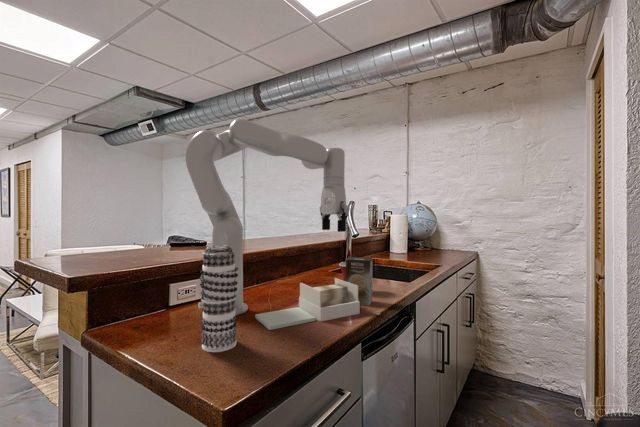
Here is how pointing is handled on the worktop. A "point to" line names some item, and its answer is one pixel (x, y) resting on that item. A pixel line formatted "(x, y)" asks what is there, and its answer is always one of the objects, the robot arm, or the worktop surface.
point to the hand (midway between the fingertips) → (333, 230)
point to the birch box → (333, 294)
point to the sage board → (284, 318)
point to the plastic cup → (343, 270)
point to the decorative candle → (218, 299)
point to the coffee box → (360, 277)
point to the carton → (312, 305)
